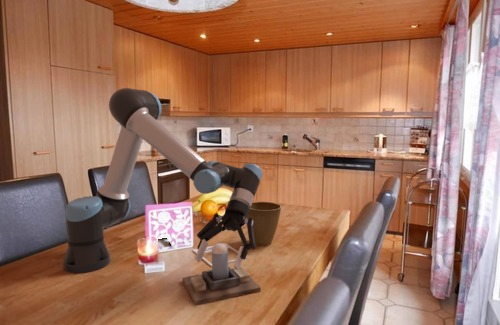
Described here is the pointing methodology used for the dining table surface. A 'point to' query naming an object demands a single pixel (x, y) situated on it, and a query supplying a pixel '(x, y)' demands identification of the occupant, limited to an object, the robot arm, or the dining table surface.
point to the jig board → (219, 286)
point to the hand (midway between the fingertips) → (216, 264)
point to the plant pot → (264, 221)
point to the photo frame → (209, 250)
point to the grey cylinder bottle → (220, 262)
